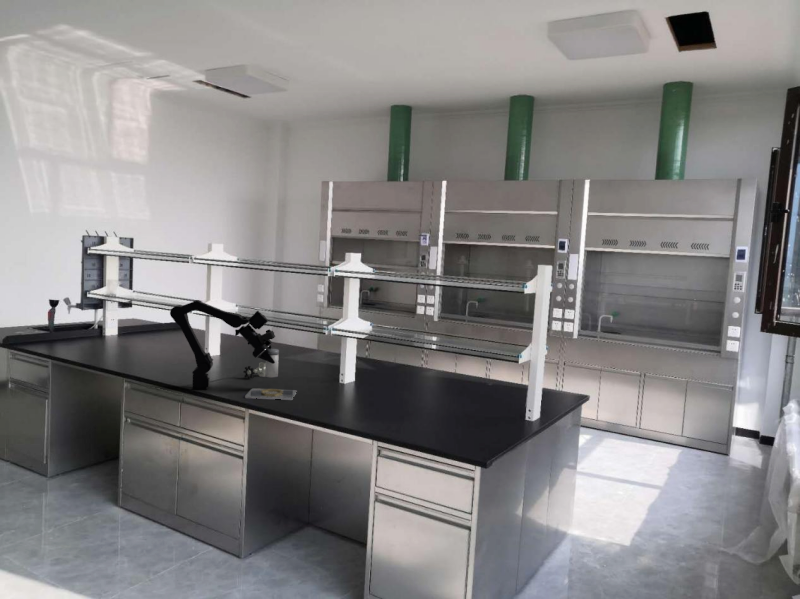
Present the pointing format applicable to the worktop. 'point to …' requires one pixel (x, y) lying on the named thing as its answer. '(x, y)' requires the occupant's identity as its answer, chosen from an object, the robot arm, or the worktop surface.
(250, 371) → the valve
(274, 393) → the shaft mount
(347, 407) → the worktop surface
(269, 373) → the domed cap cylinder
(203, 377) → the robot arm
